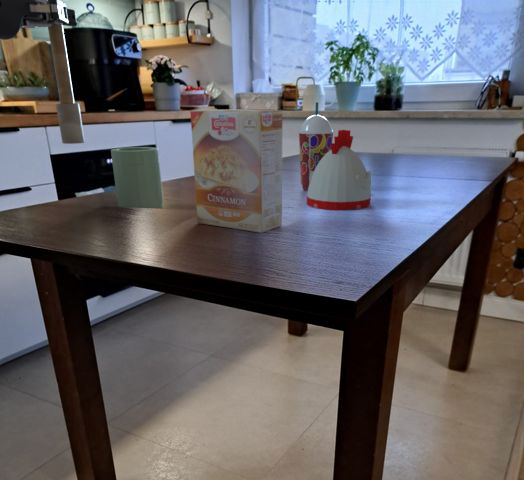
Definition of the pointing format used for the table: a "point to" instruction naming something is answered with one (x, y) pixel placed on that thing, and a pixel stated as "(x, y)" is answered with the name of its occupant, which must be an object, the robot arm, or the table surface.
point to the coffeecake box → (238, 168)
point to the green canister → (137, 177)
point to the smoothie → (313, 144)
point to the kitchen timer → (340, 178)
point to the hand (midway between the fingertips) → (67, 18)
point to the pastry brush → (65, 90)
